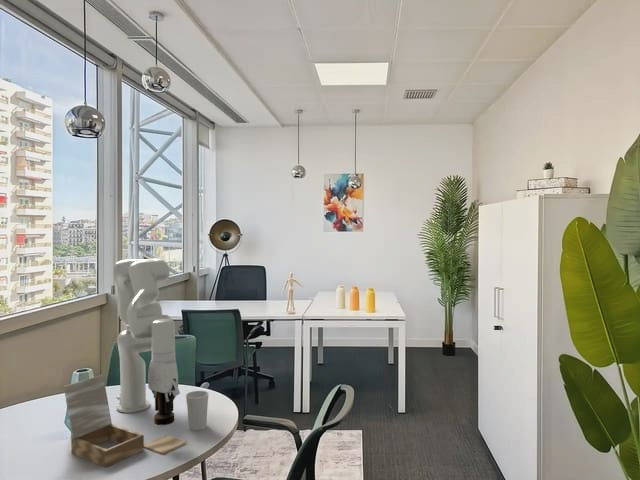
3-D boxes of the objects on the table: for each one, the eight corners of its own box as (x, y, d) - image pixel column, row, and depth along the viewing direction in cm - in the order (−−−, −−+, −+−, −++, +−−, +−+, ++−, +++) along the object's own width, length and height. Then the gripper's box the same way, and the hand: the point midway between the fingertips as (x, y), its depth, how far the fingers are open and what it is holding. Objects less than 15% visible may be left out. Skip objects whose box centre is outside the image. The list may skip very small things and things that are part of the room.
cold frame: (64, 450, 168) (63, 385, 167) (102, 435, 180) (101, 374, 179) (106, 467, 157) (104, 397, 156) (143, 449, 169) (143, 385, 168)
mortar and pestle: (156, 418, 174) (155, 365, 174) (176, 417, 175) (175, 365, 174) (152, 425, 168) (151, 371, 167) (172, 425, 168) (171, 370, 168)
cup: (203, 432, 183) (202, 398, 182) (182, 430, 184) (182, 397, 184) (212, 423, 191) (212, 391, 190) (192, 421, 192) (192, 390, 192)
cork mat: (142, 447, 170) (142, 445, 170) (166, 436, 179) (166, 434, 179) (163, 454, 165) (162, 452, 165) (186, 443, 174) (186, 441, 174)
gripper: (137, 355, 172) (138, 409, 173) (172, 362, 163) (172, 419, 164) (155, 350, 178) (156, 402, 179) (189, 357, 169) (190, 412, 170)
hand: (164, 410), depth 171 cm, fingers closed on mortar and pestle, 3 cm apart
